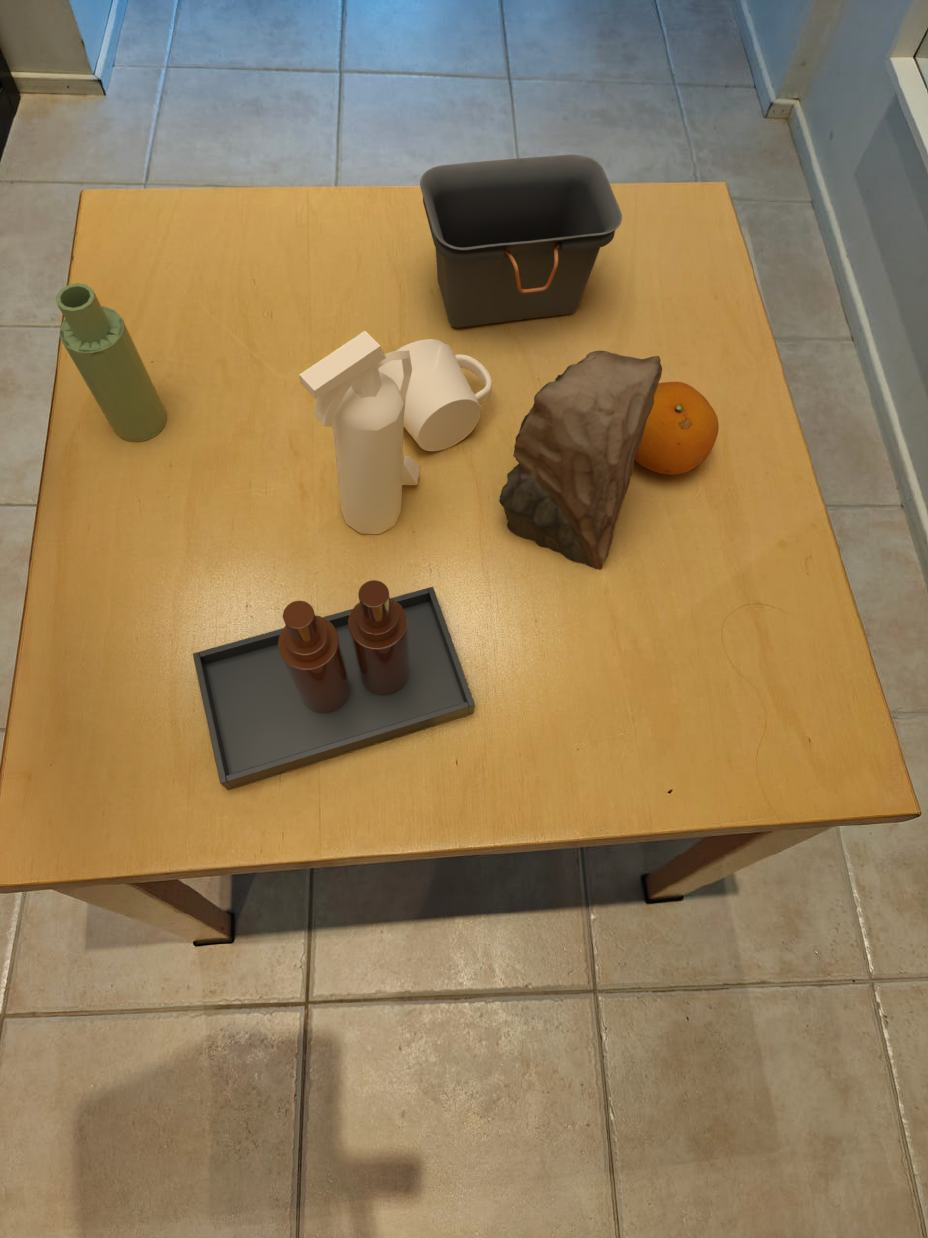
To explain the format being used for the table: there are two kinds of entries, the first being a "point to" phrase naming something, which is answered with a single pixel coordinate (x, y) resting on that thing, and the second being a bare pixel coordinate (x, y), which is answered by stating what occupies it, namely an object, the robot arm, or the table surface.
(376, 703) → the tray
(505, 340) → the table surface
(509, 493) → the brown rock chunk
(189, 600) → the table surface
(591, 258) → the storage bin
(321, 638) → the bottle row
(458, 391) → the mug
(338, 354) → the fire extinguisher
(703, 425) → the fruit
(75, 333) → the green bottle
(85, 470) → the table surface
